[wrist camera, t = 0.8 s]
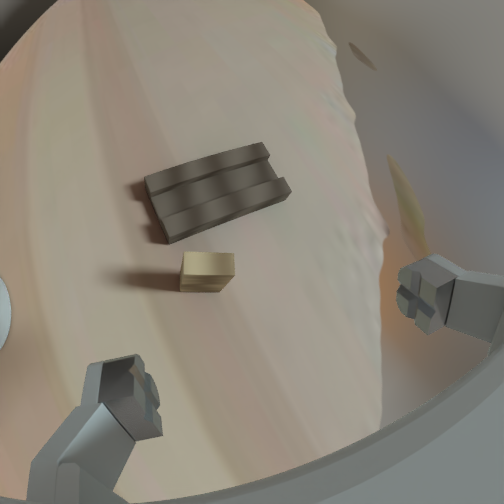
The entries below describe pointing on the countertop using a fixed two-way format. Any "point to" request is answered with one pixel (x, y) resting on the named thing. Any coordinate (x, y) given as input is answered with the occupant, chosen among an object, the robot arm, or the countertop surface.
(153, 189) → the bridge
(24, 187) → the countertop surface
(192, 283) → the wooden block
